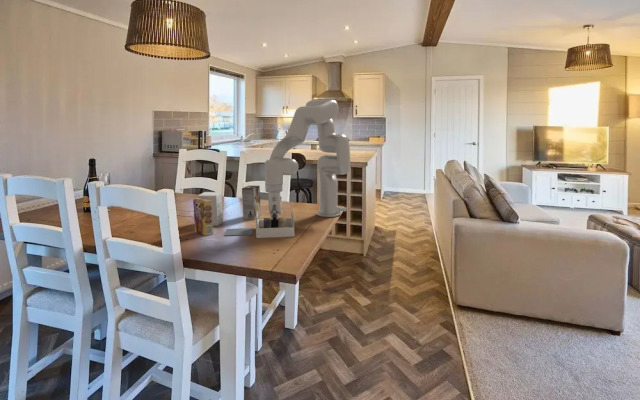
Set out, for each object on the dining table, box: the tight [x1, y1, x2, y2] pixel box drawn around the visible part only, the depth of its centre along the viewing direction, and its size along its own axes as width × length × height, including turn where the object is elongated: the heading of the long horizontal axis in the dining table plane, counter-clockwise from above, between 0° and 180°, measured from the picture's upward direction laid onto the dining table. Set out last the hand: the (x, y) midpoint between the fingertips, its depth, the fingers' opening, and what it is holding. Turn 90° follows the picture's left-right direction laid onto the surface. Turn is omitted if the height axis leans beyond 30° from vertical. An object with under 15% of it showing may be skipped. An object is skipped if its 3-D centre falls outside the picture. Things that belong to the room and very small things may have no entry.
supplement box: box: [197, 191, 224, 227], centre depth 185 cm, size 9×9×15 cm
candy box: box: [192, 197, 214, 237], centre depth 170 cm, size 9×4×15 cm, turn 47°
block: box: [263, 216, 287, 228], centre depth 172 cm, size 10×5×6 cm, turn 97°
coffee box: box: [241, 185, 262, 221], centre depth 197 cm, size 9×6×16 cm
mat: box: [224, 227, 254, 237], centre depth 172 cm, size 12×10×1 cm
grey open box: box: [255, 209, 295, 239], centre depth 172 cm, size 16×16×8 cm
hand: (274, 225), depth 172 cm, fingers open, 9 cm apart
